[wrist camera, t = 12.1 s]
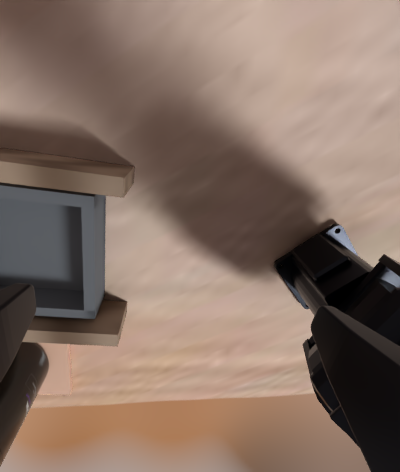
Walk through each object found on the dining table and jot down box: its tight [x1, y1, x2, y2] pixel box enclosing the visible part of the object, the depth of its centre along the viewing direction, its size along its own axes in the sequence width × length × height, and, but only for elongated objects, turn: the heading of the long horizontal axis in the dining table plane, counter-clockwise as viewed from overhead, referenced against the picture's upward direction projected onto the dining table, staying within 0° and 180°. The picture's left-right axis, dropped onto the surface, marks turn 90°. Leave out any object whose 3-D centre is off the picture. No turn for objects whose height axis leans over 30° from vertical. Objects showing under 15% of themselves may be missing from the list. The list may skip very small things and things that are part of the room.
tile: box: [37, 343, 73, 395], centre depth 25 cm, size 10×10×1 cm
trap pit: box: [0, 182, 106, 319], centre depth 19 cm, size 9×10×3 cm
